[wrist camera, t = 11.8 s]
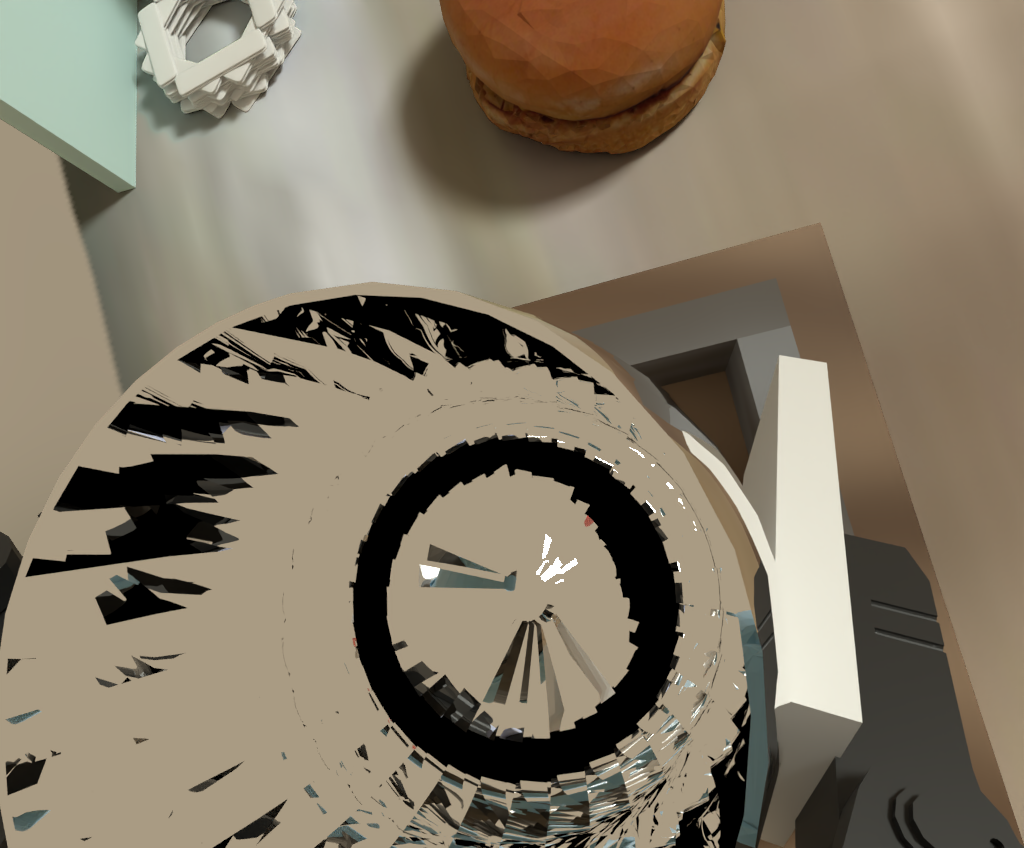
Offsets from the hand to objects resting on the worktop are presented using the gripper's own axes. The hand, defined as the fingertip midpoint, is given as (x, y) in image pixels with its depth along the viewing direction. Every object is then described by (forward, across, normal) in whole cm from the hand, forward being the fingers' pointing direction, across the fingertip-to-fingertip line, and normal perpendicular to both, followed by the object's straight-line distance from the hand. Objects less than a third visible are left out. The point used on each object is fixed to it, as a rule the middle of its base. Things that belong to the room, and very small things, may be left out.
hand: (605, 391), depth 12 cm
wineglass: (0, 0, -5) cm, 5 cm away
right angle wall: (+16, -19, +4) cm, 25 cm away
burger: (+16, -4, +4) cm, 17 cm away
